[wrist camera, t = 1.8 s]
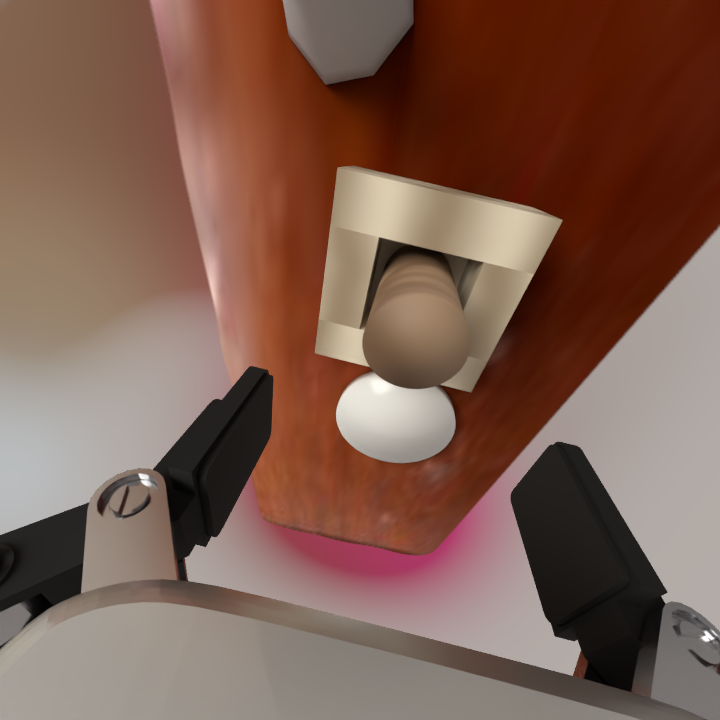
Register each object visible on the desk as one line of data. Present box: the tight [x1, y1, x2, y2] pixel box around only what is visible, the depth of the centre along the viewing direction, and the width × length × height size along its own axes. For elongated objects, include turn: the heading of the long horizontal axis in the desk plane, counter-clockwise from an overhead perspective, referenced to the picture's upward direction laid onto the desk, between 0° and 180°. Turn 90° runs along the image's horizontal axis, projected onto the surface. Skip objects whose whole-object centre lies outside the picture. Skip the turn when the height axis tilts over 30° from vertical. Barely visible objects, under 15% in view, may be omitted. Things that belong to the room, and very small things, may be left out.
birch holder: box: [315, 166, 563, 392], centre depth 21 cm, size 12×12×5 cm
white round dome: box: [336, 371, 456, 463], centre depth 31 cm, size 12×12×1 cm
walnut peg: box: [362, 245, 471, 389], centre depth 18 cm, size 5×5×10 cm
